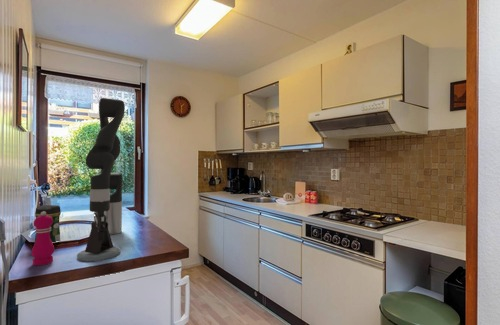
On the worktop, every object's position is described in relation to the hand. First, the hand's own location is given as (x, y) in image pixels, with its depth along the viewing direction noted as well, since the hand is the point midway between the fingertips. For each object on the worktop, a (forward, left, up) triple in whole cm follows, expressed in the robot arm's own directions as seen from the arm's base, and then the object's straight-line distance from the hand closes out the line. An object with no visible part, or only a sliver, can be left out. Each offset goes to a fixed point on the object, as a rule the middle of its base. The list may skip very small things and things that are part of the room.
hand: (99, 238), depth 116 cm
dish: (0, 0, -7) cm, 7 cm away
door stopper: (0, 0, -5) cm, 5 cm away
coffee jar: (-31, -17, -7) cm, 36 cm away
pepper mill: (-3, -19, -7) cm, 21 cm away
